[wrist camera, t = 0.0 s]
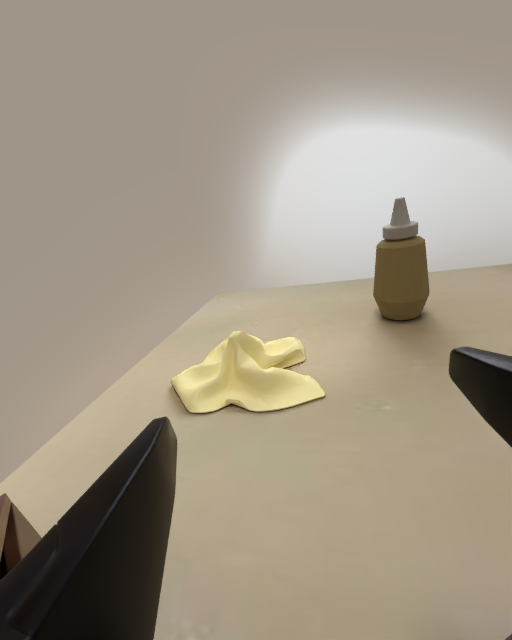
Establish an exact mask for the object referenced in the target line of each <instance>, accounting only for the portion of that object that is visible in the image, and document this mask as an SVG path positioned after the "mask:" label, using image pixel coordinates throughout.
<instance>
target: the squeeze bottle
mask: <svg viewBox="0 0 512 640" xmlns="http://www.w3.org/2000/svg"><path fill="white" fill-rule="evenodd" d="M417 234H418V222H414V221H413V222H411V221H410V219H409V215H408V211H407V206H406V202H405V198H404V197H403V198H398V199H395V203H394V208H393V213H392V219H391V223H390V224H389V225H386V226H384V227H383V238H384V239H385V240H382V241H381V242H380V243H379V244H378V245H377V249H376V265H375V279H374V293H373V295H374V298H375V300H376V302H377V305H378V307H379V309H380V312H381V314H382V315H383V316H384V317H386V318H388V319H393V320H408V319H413V318H416V317H418V316H419V315H420V314H421V312H422V310H423V307H424V305H425V303H426V300H427V298H428V296H429V282H428V270H427V259H426V247H425V239H423V238H422V237H420V236H416V235H417Z"/></svg>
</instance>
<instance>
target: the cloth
mask: <svg viewBox="0 0 512 640" xmlns="http://www.w3.org/2000/svg"><path fill="white" fill-rule="evenodd" d="M305 356H306V354H305V349H304V347H303V345H302V343H301V342H300V341H299V340H298V339H297V338H295V337H286V338H282V339H278V340H275V341H271V342H268V343H265V344H263V342H262V340H260V339H259V338H257V337H254V336H252V335H248V334H246V333H244V332H240V331H234V332H232V333H231V335H230V336H229V337H228V339H226V340H224V341H223V342H221V343H220V344H219V345H218V346H217V347H216V348H214V349H213V350H212V351H211V352H210V353H209V355H208V356H207V358H206V359H205V360H204V362H203V363H202V364H198V365H195V366H192V367H190V368H188V369H187V370H185V371H183V372H181V373H180V374H178V375H177V376H176V377H174V378H173V379H172V380H171V384H172V385H173V386H174V388H175V390H176V391H177V393H178V395H179V397H180V398H181V400H182V402H183V403H184V405H185V407H186V408H187V410H188V411H189V412H192V413H208V412H213V411H216V410H219V409H221V408H223V407H225V406H227V405H229V404H231V403H232V404H235V405H238V406H240V407H243V408H245V409H248V410H250V411H255V412H264V411H274V410H280V409H285V408H289V407H293V406H296V405H299V404H302V403H305V402H308V401H312V400H315V399H318V398H321V397H324V396H325V392H324V391H323V389H322V388H321V387H320V385H319V384H318V383H317V382H316V381H315V380H314V379H313V378H312V377H310V376H304V375H301V374H299V373H296V372H293V371H290V370H286V369H284V368H286V367H290V366H292V365H295V364H298V363H301V362H303V361H305V359H306V358H305Z"/></svg>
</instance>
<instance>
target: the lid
mask: <svg viewBox="0 0 512 640" xmlns="http://www.w3.org/2000/svg"><path fill="white" fill-rule="evenodd" d="M10 505H11V500H10V499H9V497H8V496H7V494H3V495H1V496H0V561H1V555H2V550H3V544H4V539H5V533H6V527H7V522H8V516H9V511H10Z"/></svg>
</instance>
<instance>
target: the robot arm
mask: <svg viewBox="0 0 512 640" xmlns="http://www.w3.org/2000/svg"><path fill="white" fill-rule="evenodd" d="M449 375H450V377H451V379H452V381H453V382H454V383H455V384H456V385H457V387H458V388H459V389H460V390H461V392H462V393H463V394H464V395H465V396H466V398H467V399H468V400H469V401H470V403H471V404H472V405H473V406H474V407H475V409H476V410H477V411H478V412H479V414H480V415H481V416H482V417H483V418H484V419H485V420H486V422H487V423H488V424H489V425H490V426H491V427H492V428H493V429H494V430H495V431H496V432H497V433H498V434H499V435H500V436H501V437H502V438H503V439H504V440H505V441H506V442H507V443H508V444H509V445H510V446H511V447H512V356H507V355H502V354H498V353H493V352H489V351H484V350H480V349H475V348H470V347H461V348H457V349H453V350H452V351H451V353H450V362H449ZM176 461H177V438H176V435H175V432H174V430H173V428H172V425H171V423H170V421H169V419H168V418H167V417H162V418H157V419H154V420H153V421H152V422H151V423H150V424H149V425H148V426H147V427H146V428H145V429H144V430H143V431H142V432H141V433H140V434H139V435H138V436H137V438H136V439H135V440H134V441H133V442H132V443H131V444H130V445H129V446H128V447H127V448H126V449H125V450H124V451H123V453H122V454H121V455H120V456H119V457H118V458H117V459H116V460H115V461H114V462H113V463H112V464H111V465H110V466H109V467H108V469H107V470H106V471H105V472H104V473H103V474H102V475H101V476H100V477H99V478H98V479H97V480H96V481H95V482H94V483H93V485H92V486H91V487H90V488H89V489H88V490H87V491H86V492H85V493H84V494H83V495H82V496H81V497H80V498H79V499H78V501H77V502H76V503H75V504H74V505H73V506H72V507H71V508H70V509H69V510H68V511H67V512H66V513H65V514H64V515H63V517H62V518H61V519H60V520H59V521H58V523H57V525H54V526H53V527H52V528H51V529H50V530H49V531H48V533H47V534H46V535H45V536H44V537H43V538H42V539H41V540H40V541H39V542H38V543H37V544H36V545H35V546H34V547H33V548H32V549H31V550H30V551H29V552H28V553H27V555H26V556H25V557H24V558H23V559H22V560H21V561H20V562H19V563H18V564H17V565H16V566H15V567H14V568H13V569H12V570H11V571H10V572H9V573H8V574H7V575H6V576H5V577H4V578H3V579H2V580H1V581H0V640H153V638H154V631H155V625H156V618H157V612H158V605H159V598H160V592H161V585H162V578H163V572H164V565H165V558H166V552H167V545H168V538H169V532H170V525H171V518H172V512H173V505H174V497H175V485H176Z"/></svg>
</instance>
